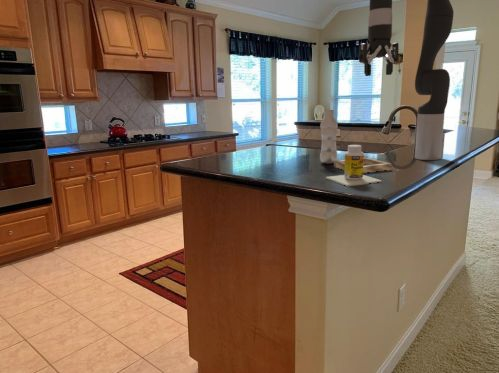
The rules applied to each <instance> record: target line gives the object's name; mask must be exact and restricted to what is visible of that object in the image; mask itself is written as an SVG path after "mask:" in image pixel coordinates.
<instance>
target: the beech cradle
mask: <svg viewBox="0 0 499 373" xmlns="http://www.w3.org/2000/svg"><path fill="white" fill-rule="evenodd" d="M333 168H335V169H338V168H339V170H341V169H342V171H345V159H341V160H337V161H334V163H333ZM384 170H387V171H392V163H390V162H386V161H383V160H379V159H373V158H369V157H364V162H363V174H368V173H367V172H370V173H377V172H376V171H379V172H385V171H384Z"/></svg>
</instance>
